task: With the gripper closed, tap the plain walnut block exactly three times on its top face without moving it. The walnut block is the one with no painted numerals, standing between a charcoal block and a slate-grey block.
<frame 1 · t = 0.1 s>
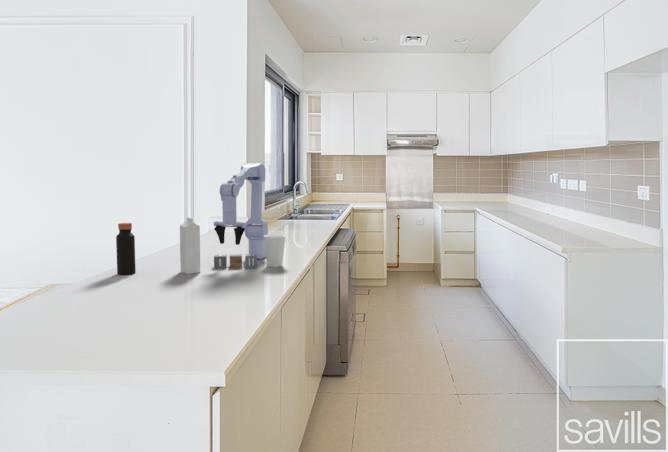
hand: (229, 244, 238), 10 cm above the countertop, fingers open, 7 cm apart
foam cup: (274, 266, 244), on the countertop
milk: (190, 272, 228), on the countertop
walnut block: (235, 266, 241), on the countertop
slate block 2: (251, 266, 242), on the countertop
bottle: (126, 274, 223), on the countertop
charcoal block 1: (220, 267, 240), on the countertop
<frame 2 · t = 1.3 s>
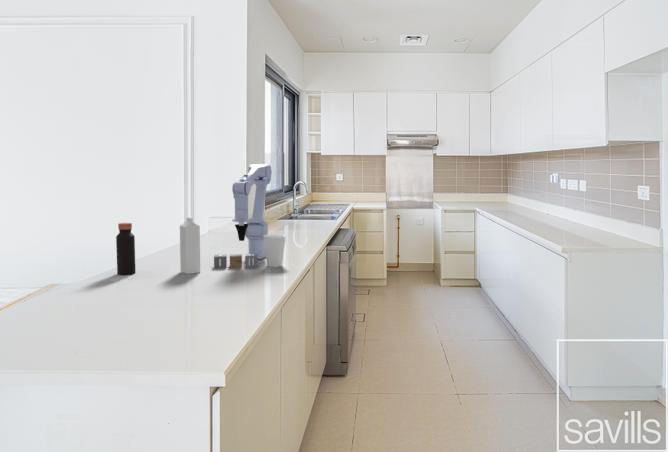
hand: (241, 240, 245), 10 cm above the countertop, fingers closed
nothing on the countertop moved.
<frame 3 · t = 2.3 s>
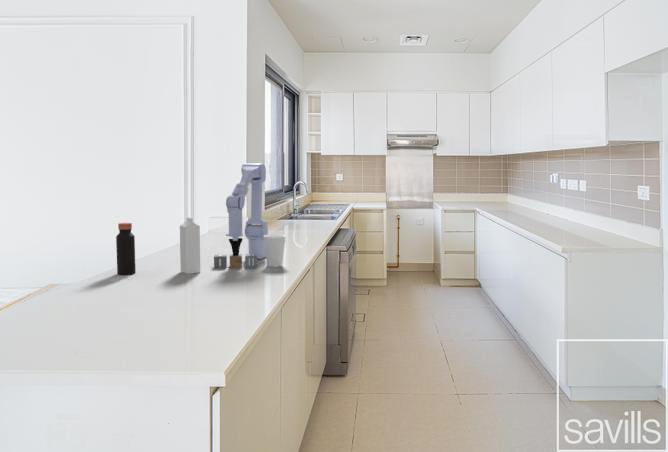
hand: (235, 255, 241), 5 cm above the countertop, fingers closed, pressing on walnut block
walnut block: (235, 266, 241), on the countertop, touching gripper
everything else where it was.
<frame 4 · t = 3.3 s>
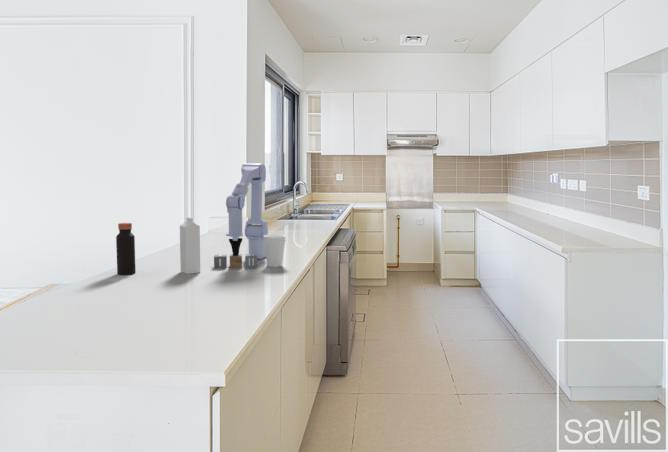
hand: (235, 255, 241), 5 cm above the countertop, fingers closed, pressing on walnut block
walnut block: (235, 266, 241), on the countertop, touching gripper
everything else where it was.
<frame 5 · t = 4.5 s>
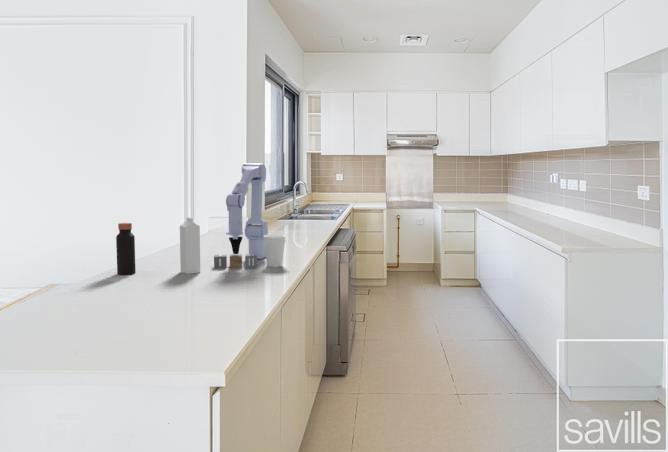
hand: (235, 253, 241), 5 cm above the countertop, fingers closed
walnut block: (235, 266, 241), on the countertop
everything else where it was.
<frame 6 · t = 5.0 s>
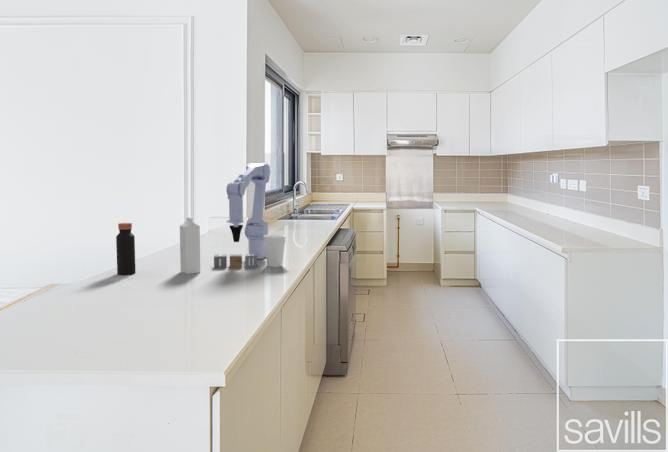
hand: (236, 241, 243), 10 cm above the countertop, fingers closed
nothing on the countertop moved.
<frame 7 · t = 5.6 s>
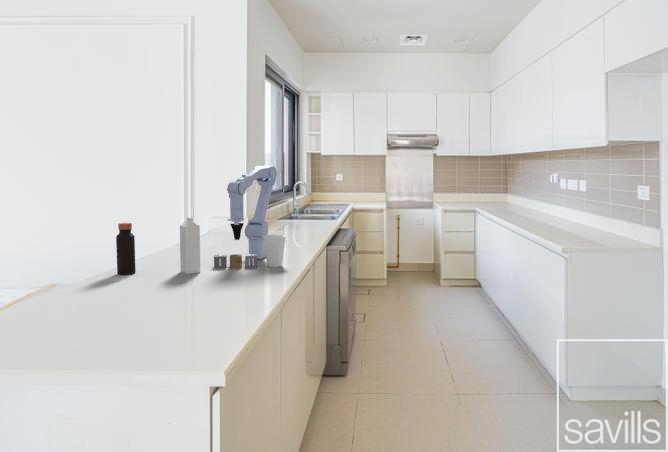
hand: (237, 239, 249), 10 cm above the countertop, fingers closed
nothing on the countertop moved.
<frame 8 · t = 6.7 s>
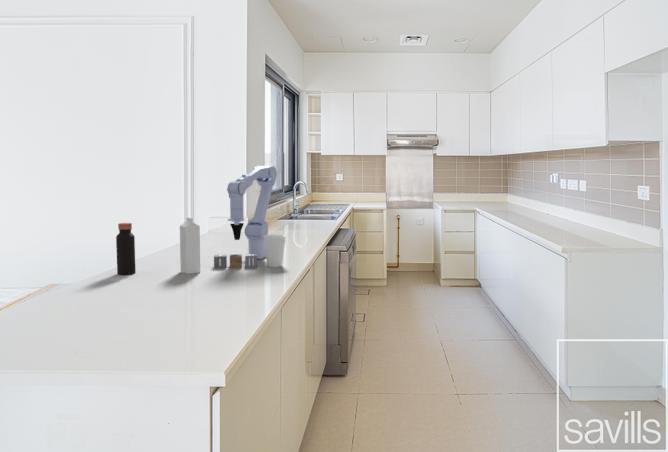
hand: (237, 239, 249), 10 cm above the countertop, fingers closed
nothing on the countertop moved.
at the end: walnut block moved 0.1 cm from its start; walnut block tilted 0°; slate block 2 moved 0.1 cm from its start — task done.
